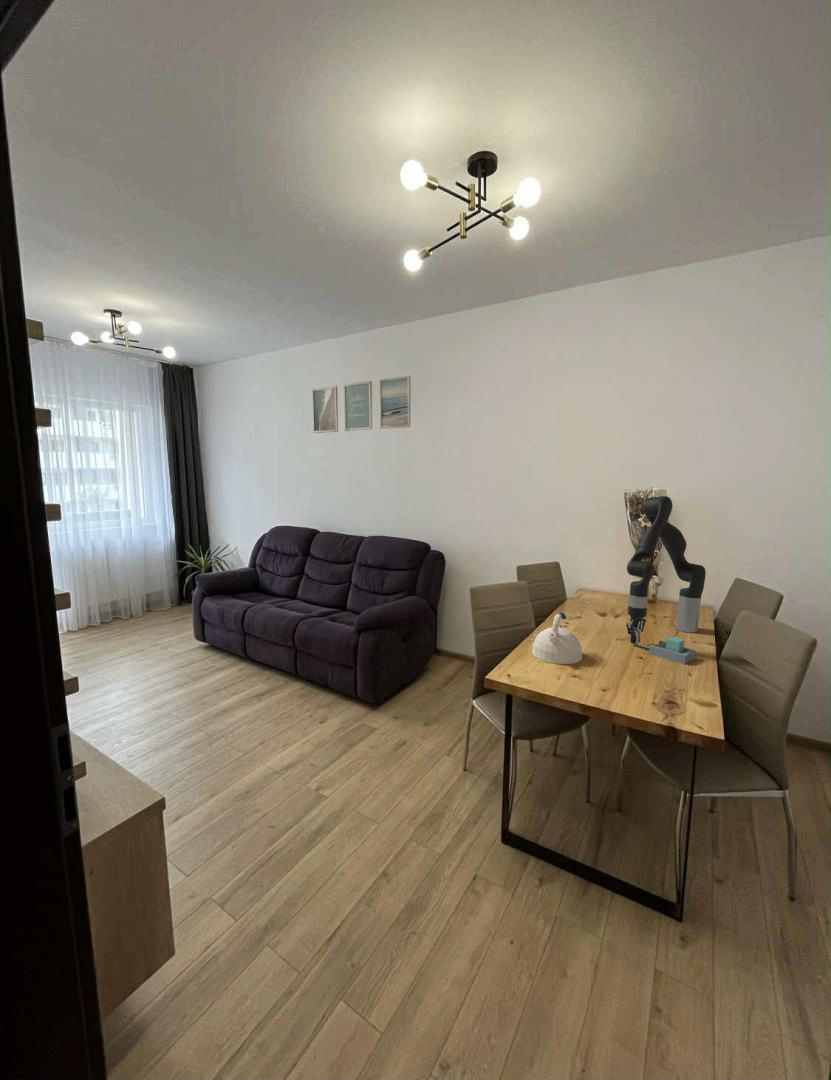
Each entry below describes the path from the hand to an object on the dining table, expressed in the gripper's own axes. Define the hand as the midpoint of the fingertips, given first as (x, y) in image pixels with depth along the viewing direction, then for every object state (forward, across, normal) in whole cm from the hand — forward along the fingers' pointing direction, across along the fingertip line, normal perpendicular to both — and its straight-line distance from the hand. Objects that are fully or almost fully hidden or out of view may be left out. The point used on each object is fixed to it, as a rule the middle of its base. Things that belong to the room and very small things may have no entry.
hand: (634, 642), depth 200 cm
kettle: (+1, +38, -14) cm, 41 cm away
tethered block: (+1, 0, +9) cm, 9 cm away
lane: (+1, 0, +16) cm, 16 cm away
